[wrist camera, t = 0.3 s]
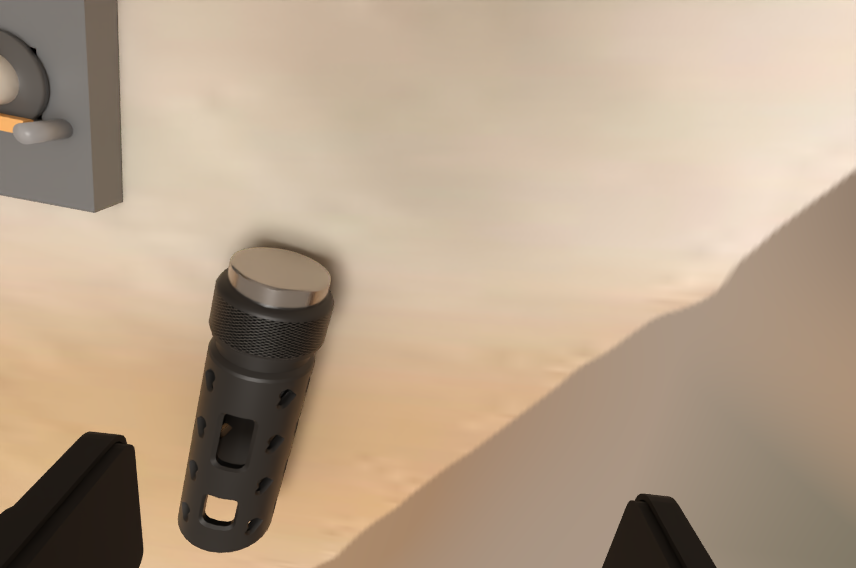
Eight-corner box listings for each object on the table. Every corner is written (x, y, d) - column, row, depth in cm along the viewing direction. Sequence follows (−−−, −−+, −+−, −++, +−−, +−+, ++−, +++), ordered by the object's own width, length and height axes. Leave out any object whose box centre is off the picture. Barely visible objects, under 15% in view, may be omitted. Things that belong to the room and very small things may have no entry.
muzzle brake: (202, 463, 55) (155, 544, 45) (247, 230, 45) (199, 271, 35) (287, 483, 56) (259, 566, 46) (349, 260, 46) (329, 307, 36)
